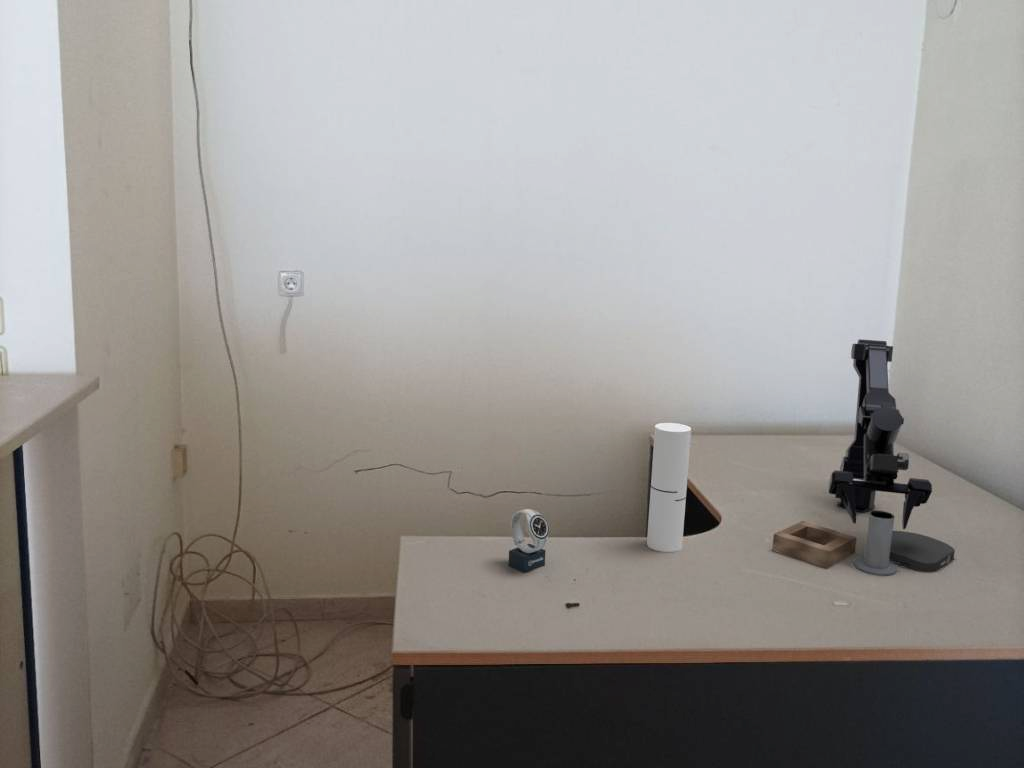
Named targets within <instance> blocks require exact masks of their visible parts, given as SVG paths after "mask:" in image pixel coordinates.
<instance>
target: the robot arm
mask: <svg viewBox="0 0 1024 768" xmlns="http://www.w3.org/2000/svg"><path fill="white" fill-rule="evenodd" d="M893 349H894V346H892V345H887V340H871V339H861V338H859V339H858V340H857V343H852V344H851V353H850V358H851V359H852V360H853V363H852V367H853V369H854V370H855V372H856V374H857V377H858V389H857V402H856V413H855V423H854V424H855V426H854V436H853V438H854V439H853V441H852V442H851V443H850V444H849V446H848V447H847V448H846V450H845V456H843V457H842V460H841V464H840V467H839V470H834V471H832V472H831V474H830V478H829V482H828V494H830V495H834V496H835V498H837V499H839V500H840V501H839V502H837V503H836V506H838V507H842V508H845V509H846V511H847V513H848V515H849V517H850V519H851V521H852V524H856V523H857V512H860V513H865V512H868V511H869V510H872V509H873V508H875V505H876V504H875V501H876V498H875V497H876V492H886V493H891V494H894V493H895V494H904V501H903V505H902V506H903V507H902V522H901V525H902V530H906V529H907V525H908V522H909V520H910V517H911V515H912V511H913V509H914V507H916V508H918V507H920V506H921V505H923V504H927V503H928V500H929V498H930V496H931V495H932V493H933V489H932V488H933V485H932V483H931V482H930V480H929V479H925V478H923V479H922V478H913V477H910V478H909V479H908V482H907V483H900V482H899V483H898V482H895V480H897V478H898V473H899V471H907V470H908V469H909V463H910V460H909V453H906V452H905V453H904V452H898V453H897V455H895V453H894V452H895V451H894V449H895V448H894V445H895V444H894V443H895V442H896V441H897V438H898V435H899V433H900V430H901V427H902V425H904V422H905V421H904V420H905V418H904V417H903V416H902V415H901V413H900V410H899V409H898V408H897V402H896V398H895V397H894V396H893V395H892V394H891V393H890V391H889V390H890V389H889V373H888V372H889V371H888V363H889V362H890V363H891V362H893V353H894V351H893Z"/></svg>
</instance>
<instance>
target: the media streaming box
mask: <svg viewBox="0 0 1024 768" xmlns="http://www.w3.org/2000/svg"><path fill="white" fill-rule="evenodd" d="M955 551H956V549H955V548H954V547H953V546H951V545H950V544H948V543H946V542H944V541H942V540H939V539H937V538H934V537H930V536H928V535H923V534H920V533H916V532H909V531H902V530H893V533H892V540H891V548H890V556H889V561H890V562H892V563H894V564H895V565H896V566H899V567H903V568H904V569H905V568H906V569H909V570H912V571H917V572H921V573H923V572H924V573H933V572H934V573H935V572H938V571H940V570H942V569H943V568H945V567H946V566H948V565H949V564H951V563H952V562H953V561H954V560H955V559H954V558H955Z"/></svg>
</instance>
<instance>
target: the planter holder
mask: <svg viewBox="0 0 1024 768" xmlns="http://www.w3.org/2000/svg"><path fill="white" fill-rule="evenodd" d="M772 539H773V540H772V549H771V550H772V551H773V550H775V551H774V552H776V551H778V552H777V553H779V552H781V553H780V554H782V553H783V555H785V554H786V555H785V556H788V555H789V557H791V556H792V558H794V557H795V558H794V559H797V558H798V560H800V559H801V560H800V561H804V562H807V563H810V564H813V565H816V566H819V567H821V568H825V569H829V568H830V567H832V566H834V565H836V564H838V563H840V562H841V561H843V560H845V559H847V558H848V557H851V556H853V555H854V554H856V549H857V548H856V547H857V542H858V541H857V539H858V537H857V536H856V535H851V534H849V533H845V532H842V531H839V530H835V529H832V528H828V527H826V526H822V525H819V524H815V523H812V522H808V521H806V520H801V521H799V522H797V523H795V524H792V525H791V526H788V527H787V528H783V529H781V530H779V531H777V532H775V533H774V534H773V537H772Z"/></svg>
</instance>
